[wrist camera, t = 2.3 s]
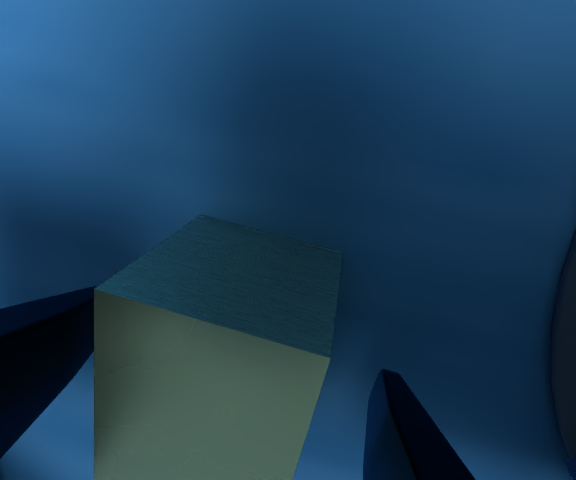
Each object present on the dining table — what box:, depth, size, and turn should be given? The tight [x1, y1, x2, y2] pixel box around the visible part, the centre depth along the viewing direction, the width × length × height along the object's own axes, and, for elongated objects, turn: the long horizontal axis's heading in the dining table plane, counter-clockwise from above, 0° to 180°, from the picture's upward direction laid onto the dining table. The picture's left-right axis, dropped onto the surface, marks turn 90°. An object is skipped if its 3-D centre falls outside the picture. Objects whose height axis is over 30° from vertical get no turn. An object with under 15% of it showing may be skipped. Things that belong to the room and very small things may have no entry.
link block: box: [94, 215, 343, 480], centre depth 8 cm, size 5×4×4 cm
